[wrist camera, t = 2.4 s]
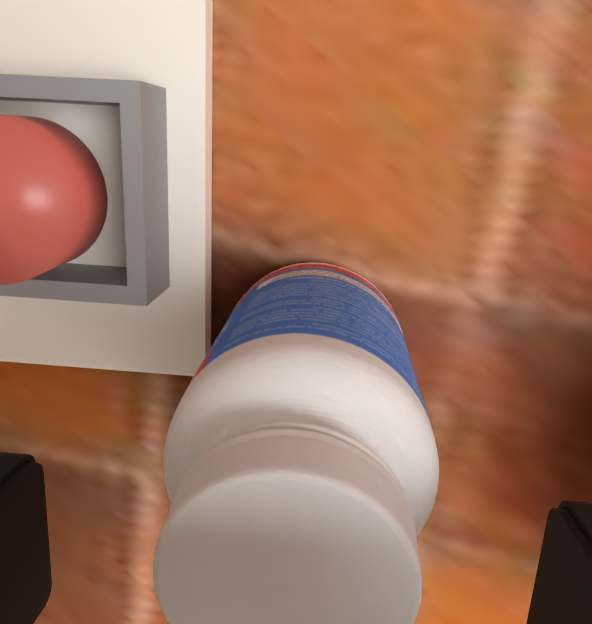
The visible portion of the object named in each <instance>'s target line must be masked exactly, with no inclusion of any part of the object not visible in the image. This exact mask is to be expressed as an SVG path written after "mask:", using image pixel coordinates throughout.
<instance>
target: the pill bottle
mask: <svg viewBox="0 0 592 624" xmlns="http://www.w3.org/2000/svg"><path fill="white" fill-rule="evenodd" d="M163 470H164V481H165V486H166V490H167V494H168V497H169V501H170V504H171V506H170V510H169V513H168V515H167V518H166V520H165V523H164V525H163V528H162V530H161V533H160V535H159V538H158V542H157V545H156V548H155V555H154V561H153V579H154V589H155V592H156V598H157V600H158V601H159V604H160V606H161V609H162V612H163V614H164V616H165V618H166V620H167V621H168V623H169V624H414V622H415V620H416V617H417V613H418V610H419V607H420V603H421V595H422V574H421V566H420V559H419V553H418V547H417V540H416V538H417V537H418V535H419V533H420V532H421V530H422V529H423V527H424V525H425V524H426V522H427V520H428V517H429V515H430V513H431V511H432V509H433V505H434V502H435V498H436V494H437V488H438V479H439V461H438V453H437V448H436V443H435V439H434V435H433V432H432V428H431V424H430V421H429V417H428V414H427V411H426V408H425V404H424V401H423V398H422V395H421V392H420V390H419V386H418V383H417V379H416V376H415V373H414V370H413V366H412V363H411V360H410V356H409V353H408V350H407V346H406V343H405V339H404V336H403V332H402V329H401V326H400V323H399V321H398V318H397V316H396V314H395V312H394V310H393V308H392V307H391V305H390V303H389V302H388V300H387V299H386V298H385V297H384V295H383V294H382V293H381V292H380V291H379V290H378V289H377V288H376V287H375V286H374V285H373V284H372V283H371V282H369V281H368V280H367V279H365V278H364V277H362V276H360V275H359V274H357V273H355V272H353V271H351V270H348V269H346V268H343V267H340V266H336V265H332V264H327V263H316V262H309V263H298V264H293V265H289V266H286V267H283V268H280V269H278V270H276V271H273V272H271V273H270V274H268V275H266V276H265V277H263V278H262V279H260V280H259V281H258V282H256V283H255V284H254V285H253V286H252V287H251V288H250V289H249V290H248V291H247V292H246V293H245V294H244V295H243V297H242V298H241V299H240V300H239V302H238V303H237V305H236V306H235V308H234V310H233V312H232V313H231V315H230V316H229V318H228V320H227V322H226V324H225V325H224V327H223V329H222V331H221V332H220V334H219V336H218V337H217V338H216V340H215V342H214V344H213V346H212V347H211V349H210V350H209V352H208V353H207V355H206V357H205V359H204V360H203V362H202V363H201V365H200V367H199V369H198V370H197V372H196V374H195V375H194V376H193V378H192V380H191V382H190V384H189V386H188V387H187V389H186V391H185V392H184V394H183V396H182V399H181V401H180V402H179V404H178V407H177V409H176V411H175V413H174V415H173V418H172V421H171V423H170V426H169V429H168V432H167V435H166V440H165V446H164V455H163Z"/></svg>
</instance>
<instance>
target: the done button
mask: <svg viewBox="0 0 592 624" xmlns="http://www.w3.org/2000/svg"><path fill="white" fill-rule="evenodd" d="M107 208H108V196H107V188H106V184H105V179H104V176H103V174H102V171H101V168H100V166H99V164H98V162H97V160H96V159H95V157H94V156H93V154H92V153H91V151H90V150H89V149H88V147H87V146H86V145H85V144H84V143H83V142H82V141H81V140H80V139H79V138H78V137H77V136H76V135H75V134H73V133H72V132H71V131H69V130H68V129H66V128H65V127H63V126H61V125H59V124H57V123H55V122H52V121H50V120H47V119H43V118H39V117H31V116H19V115H6V114H0V285H8V284H16V283H20V282H23V281H27V280H29V279H31V278H33V277H35V276H38V275H40V274H42V273H44V272H47V271H49V270H51V269H53V268H56V267H58V266H60V265H62V264H64V263H67V262H69V261H71V260H73V259H76V258H77V257H79V256H80V255H82V254H84V253H85V252H86V251H87V250H88V249H89V248H90V247H91V246H92V245H93V244H94V243H95V241H96V240H97V238H98V237H99V235H100V233H101V231H102V229H103V226H104V223H105V220H106V215H107Z"/></svg>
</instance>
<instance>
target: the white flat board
mask: <svg viewBox="0 0 592 624" xmlns="http://www.w3.org/2000/svg"><path fill="white" fill-rule="evenodd" d="M212 29H213V0H0V114H6V115H19V116H31V117H39V118H43V119H47V120H50V121H52V122H55V123H57V124H59V125H61V126H63V127H65V128H66V129H68V130H69V131H71V132H72V133H73V134H75V135H76V136H77V137H78V138H79V139H80V140H81V141H82V142H83V143H84V144H85V145H86V146H87V147H88V149H89V150H90V151H91V153H92V154H93V156H94V157H95V159H96V160H97V162H98V164H99V166H100V168H101V171H102V174H103V176H104V179H105V184H106V188H107V196H108V208H107V215H106V220H105V223H104V226H103V229H102V231H101V233H100V235H99V237H98V238H97V240H96V241H95V243H94V244H93V245H92V246H91V247H90V248H89V249H88V250H87V251H86V252H85V253H84V254H82V255H80V256H79V257H77V258H76V259H73V260H71V261H69V262H67V263H64V264H62V265H60V266H58V267H56V268H53V269H51V270H49V271H47V272H44V273H42V274H40V275H38V276H35V277H33V278H31V279H29V280H27V281H23V282H20V283H16V284H8V285H0V361H5V362H18V363H31V364H43V365H56V366H69V367H82V368H94V369H107V370H120V371H133V372H145V373H158V374H171V375H184V376H194V375H195V374H196V372H197V370H198V369H199V367H200V365H201V363H202V362H203V360H204V359H205V357H206V355H207V353H208V352H209V350H210V349H211V230H212Z"/></svg>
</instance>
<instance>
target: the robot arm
mask: <svg viewBox="0 0 592 624" xmlns="http://www.w3.org/2000/svg"><path fill="white" fill-rule="evenodd" d="M51 586H52V580H51V566H50V552H49V539H48V525H47V512H46V498H45V485H44V472H43V467H42V465H41V464H39V463H36V462H35V459H34V457H33V456H31V455H27V454H16V453H4V452H1V453H0V624H33V623H34V622H35V620H36V619H37V617H38V616H39V614H40V613H41V611H42V610H43V608H44V607H45V605H46V603H47V601H48V598H49V596H50V592H51ZM527 624H592V503H586V502H574V501H563V502H561V504H560V505H559V508H552V509H551V510H550V512H549V514H548V519H547V524H546V529H545V534H544V539H543V544H542V549H541V554H540V559H539V564H538V569H537V574H536V579H535V584H534V589H533V594H532V599H531V604H530V609H529V614H528V619H527Z"/></svg>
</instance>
